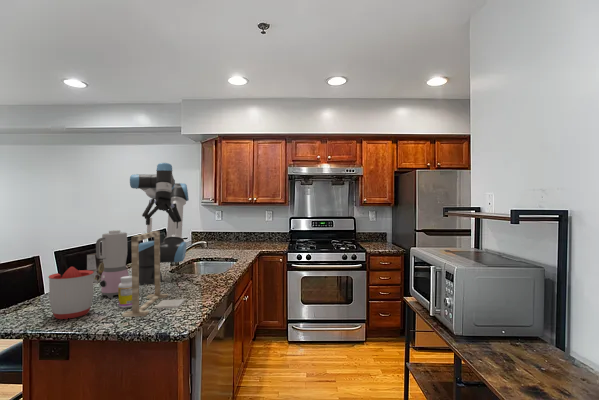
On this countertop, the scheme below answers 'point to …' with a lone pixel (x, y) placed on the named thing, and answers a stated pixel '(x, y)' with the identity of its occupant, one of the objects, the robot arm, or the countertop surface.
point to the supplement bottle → (125, 292)
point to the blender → (112, 261)
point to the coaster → (170, 303)
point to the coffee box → (95, 266)
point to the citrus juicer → (71, 293)
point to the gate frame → (135, 275)
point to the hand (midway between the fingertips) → (162, 233)
